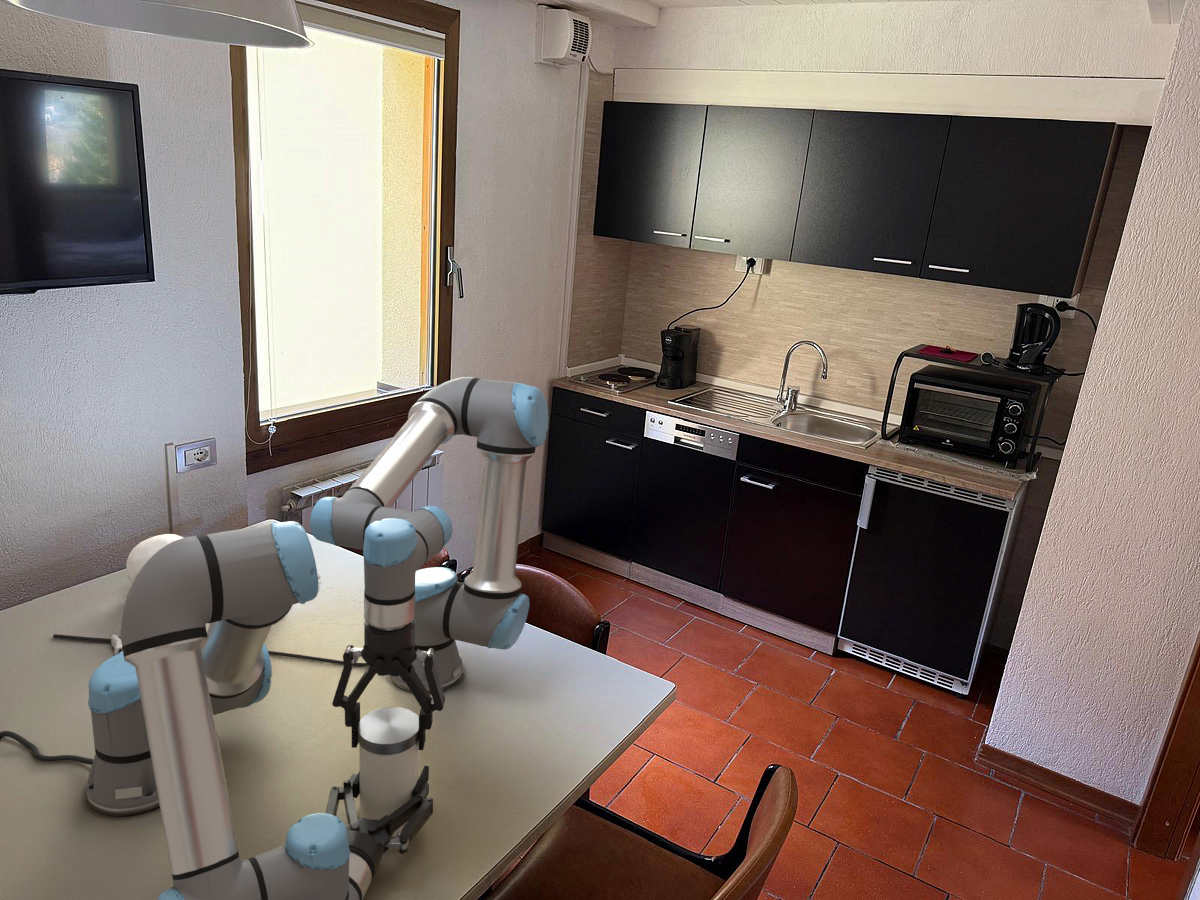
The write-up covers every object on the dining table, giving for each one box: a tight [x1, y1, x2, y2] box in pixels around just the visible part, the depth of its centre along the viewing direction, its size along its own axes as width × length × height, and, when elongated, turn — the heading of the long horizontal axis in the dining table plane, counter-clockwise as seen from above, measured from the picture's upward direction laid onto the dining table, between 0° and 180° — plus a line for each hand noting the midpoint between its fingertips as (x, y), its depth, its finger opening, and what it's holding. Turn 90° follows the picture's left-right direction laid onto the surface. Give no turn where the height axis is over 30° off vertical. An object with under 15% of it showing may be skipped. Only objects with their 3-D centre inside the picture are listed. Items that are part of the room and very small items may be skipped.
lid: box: [357, 706, 419, 755], centre depth 136 cm, size 10×10×2 cm
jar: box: [358, 740, 419, 839], centre depth 139 cm, size 9×9×17 cm
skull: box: [125, 533, 184, 585], centre depth 202 cm, size 13×22×16 cm, turn 73°
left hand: (397, 768), depth 144 cm, fingers closed on jar, 9 cm apart
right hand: (389, 743), depth 137 cm, fingers closed on lid, 10 cm apart
